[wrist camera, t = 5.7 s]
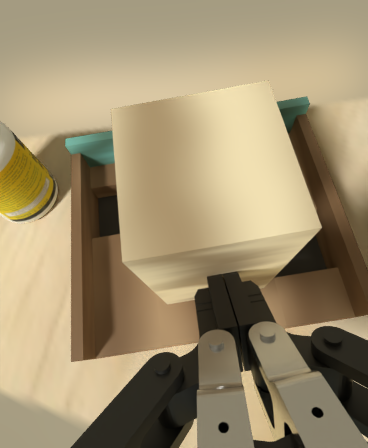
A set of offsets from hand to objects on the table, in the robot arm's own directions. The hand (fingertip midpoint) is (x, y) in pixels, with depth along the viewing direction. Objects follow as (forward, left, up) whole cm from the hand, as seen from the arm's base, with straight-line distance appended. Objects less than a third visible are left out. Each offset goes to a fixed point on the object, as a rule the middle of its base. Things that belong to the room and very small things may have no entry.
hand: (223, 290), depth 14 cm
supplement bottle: (+15, -12, -8) cm, 21 cm away
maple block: (0, -4, -6) cm, 7 cm away
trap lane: (0, -5, -8) cm, 10 cm away
